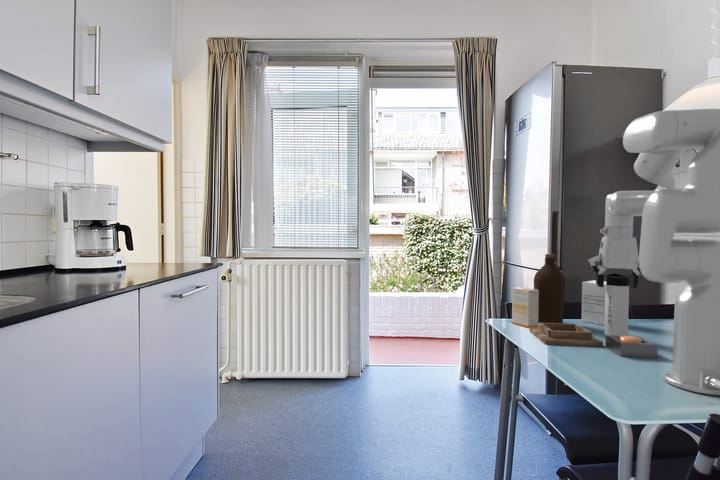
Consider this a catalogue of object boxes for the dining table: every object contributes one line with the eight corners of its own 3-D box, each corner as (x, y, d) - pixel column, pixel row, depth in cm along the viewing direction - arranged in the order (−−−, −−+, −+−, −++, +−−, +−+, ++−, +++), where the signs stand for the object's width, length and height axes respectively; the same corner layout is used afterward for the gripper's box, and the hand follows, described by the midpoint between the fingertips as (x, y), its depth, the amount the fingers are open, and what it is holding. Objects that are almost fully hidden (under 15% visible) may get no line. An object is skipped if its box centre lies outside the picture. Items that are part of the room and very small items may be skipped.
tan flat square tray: (602, 346, 122) (603, 334, 122) (545, 344, 124) (545, 332, 124) (580, 333, 138) (580, 322, 138) (529, 331, 140) (529, 321, 140)
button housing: (657, 358, 112) (657, 344, 112) (620, 356, 113) (621, 343, 113) (638, 348, 121) (639, 336, 121) (605, 347, 122) (605, 335, 122)
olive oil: (545, 326, 148) (547, 255, 148) (526, 320, 159) (528, 253, 158) (571, 325, 151) (573, 255, 151) (550, 319, 161) (552, 253, 161)
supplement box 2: (592, 318, 163) (593, 279, 163) (617, 323, 156) (618, 282, 155) (580, 321, 158) (581, 281, 157) (605, 326, 150) (606, 283, 150)
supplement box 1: (538, 327, 147) (539, 289, 147) (528, 328, 145) (528, 290, 145) (521, 322, 155) (522, 286, 154) (511, 323, 153) (511, 287, 153)
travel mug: (623, 336, 136) (625, 273, 135) (630, 341, 129) (632, 275, 129) (601, 334, 137) (603, 273, 137) (607, 339, 131) (609, 274, 131)
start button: (645, 350, 114) (645, 340, 114) (625, 349, 115) (625, 339, 115) (635, 345, 119) (635, 336, 119) (616, 345, 120) (616, 335, 120)
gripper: (594, 232, 130) (592, 288, 131) (654, 233, 128) (652, 289, 129) (584, 232, 138) (582, 284, 138) (641, 232, 135) (639, 286, 136)
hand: (616, 287), depth 133 cm, fingers open, 9 cm apart
